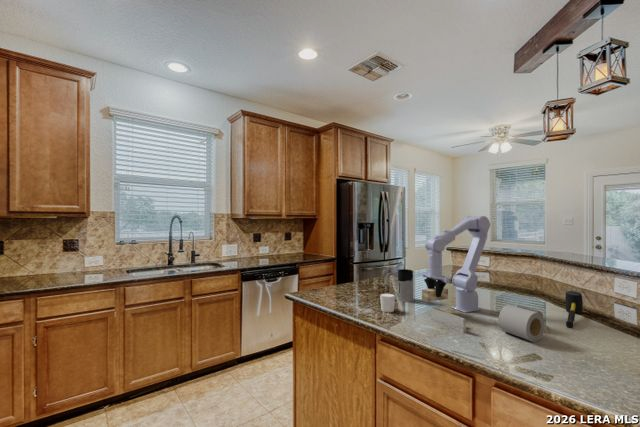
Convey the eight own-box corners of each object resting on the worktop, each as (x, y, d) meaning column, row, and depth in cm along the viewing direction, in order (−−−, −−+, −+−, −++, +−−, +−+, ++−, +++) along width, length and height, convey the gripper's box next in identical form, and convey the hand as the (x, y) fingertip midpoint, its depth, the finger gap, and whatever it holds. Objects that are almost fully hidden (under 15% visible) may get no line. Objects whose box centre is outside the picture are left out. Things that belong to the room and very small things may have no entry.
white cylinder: (538, 332, 115) (538, 311, 115) (513, 326, 121) (513, 306, 121) (546, 326, 121) (546, 306, 122) (522, 320, 128) (522, 302, 128)
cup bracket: (473, 330, 116) (473, 317, 116) (463, 332, 114) (463, 319, 114) (440, 317, 131) (440, 306, 131) (431, 319, 129) (431, 307, 129)
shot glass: (395, 313, 137) (395, 297, 137) (380, 312, 139) (380, 296, 139) (395, 308, 144) (395, 293, 144) (380, 307, 145) (380, 292, 146)
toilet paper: (498, 333, 114) (498, 306, 114) (516, 329, 118) (516, 303, 118) (526, 344, 104) (526, 314, 104) (544, 339, 108) (544, 311, 108)
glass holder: (416, 301, 155) (416, 272, 155) (388, 301, 155) (388, 272, 155) (411, 297, 164) (411, 269, 164) (384, 297, 164) (384, 269, 164)
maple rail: (442, 296, 142) (441, 287, 142) (448, 298, 139) (448, 288, 139) (421, 300, 137) (421, 289, 137) (427, 302, 134) (427, 291, 134)
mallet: (580, 331, 116) (579, 305, 116) (560, 327, 120) (559, 302, 120) (583, 312, 138) (583, 291, 138) (566, 310, 142) (565, 289, 142)
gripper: (416, 263, 143) (416, 293, 143) (441, 268, 129) (441, 300, 129) (428, 262, 146) (428, 291, 146) (453, 267, 132) (453, 299, 132)
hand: (435, 295), depth 138 cm, fingers closed on maple rail, 3 cm apart
